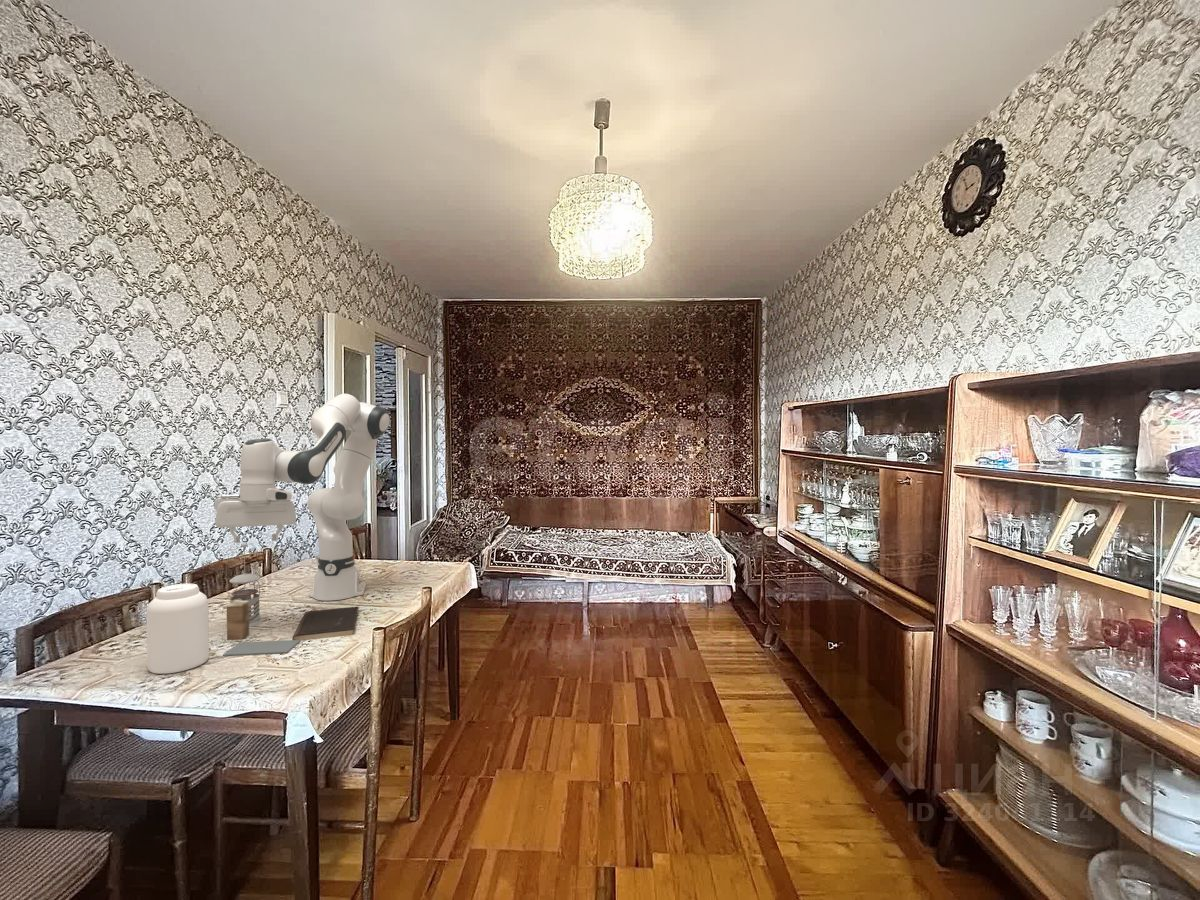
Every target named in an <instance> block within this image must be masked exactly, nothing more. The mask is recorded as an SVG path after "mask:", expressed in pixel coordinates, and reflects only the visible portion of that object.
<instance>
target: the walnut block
mask: <svg viewBox="0 0 1200 900" xmlns="http://www.w3.org/2000/svg"><path fill="white" fill-rule="evenodd" d="M249 635H250V627H249V601H239V600H236V601H233V602H232V603H230V602H229V603H228V604H226V641H237V640H238V641H239V640H241V641H242V640H243V639H246V638H247V637H248V636H249Z"/></svg>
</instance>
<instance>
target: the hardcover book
mask: <svg viewBox="0 0 1200 900" xmlns="http://www.w3.org/2000/svg"><path fill="white" fill-rule="evenodd" d="M358 611H359V606H350V607H348V606H347V607H339V608H330V609H329V608H327V609H318V610H317V609H316V610H307V611H305V612H304V613H303V616H302V618H301V620H300V621H299V623H298V626H297V628H296V630H295V632H294V634H293V635H292V637H291V638H292V639H291V640H301V641H305V640H315V639H325V638H334V637H341V636H342V637H343V636H351V635H353V634H354V630H355V626H356V621H357V618H358V617H357V616H358Z"/></svg>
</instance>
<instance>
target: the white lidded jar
mask: <svg viewBox="0 0 1200 900" xmlns="http://www.w3.org/2000/svg"><path fill="white" fill-rule="evenodd" d="M209 622H210V619H209V599H208V597H207V595H206V594H205V593H203V592H202V591H200V587H199V586H198V584H195V583H185V582H184V583H176V584H172V585H171V584H170V585H166V586H163V587H161V588H159V589H157V591H156V593H155V597H154V598H153V599H152V600H151V601H150V602H149V603H148V605H147V607H146V647H147V648H146V651H147V653H146V656H147V657H146V660H147V670H148V671H149V672H150V673H151V674H158V675H159V674H160V675H163V674H175V673H180V672H185V671H188V670H192V669H195V668H196V667H199V666H201V665H203V664H204V663H206V662H207V661H208V659H209V657H210V634H209V633H210V628H209V627H210V625H209V624H210V623H209Z"/></svg>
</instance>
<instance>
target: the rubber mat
mask: <svg viewBox="0 0 1200 900" xmlns="http://www.w3.org/2000/svg"><path fill="white" fill-rule="evenodd" d="M301 641H302V640H292V639H289V640H288V639H287V640H267V641H266V640H265V641H264V640H263V641H262V640H261V641H242V642H241V641H239V642H238V643H237V644H235V645H234V646H232V647H231V648H230V649H228V650H227V651H226V652H224V653H223V654H222V657H232V656H234V657H235V656H237V657H239V656H255V655H259V656H260V655H276V654H277V655H278V654H289V652H291V651H292V649H294V648H295V647H296V646H297V645H298V644H299V643H300V642H301Z"/></svg>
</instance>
